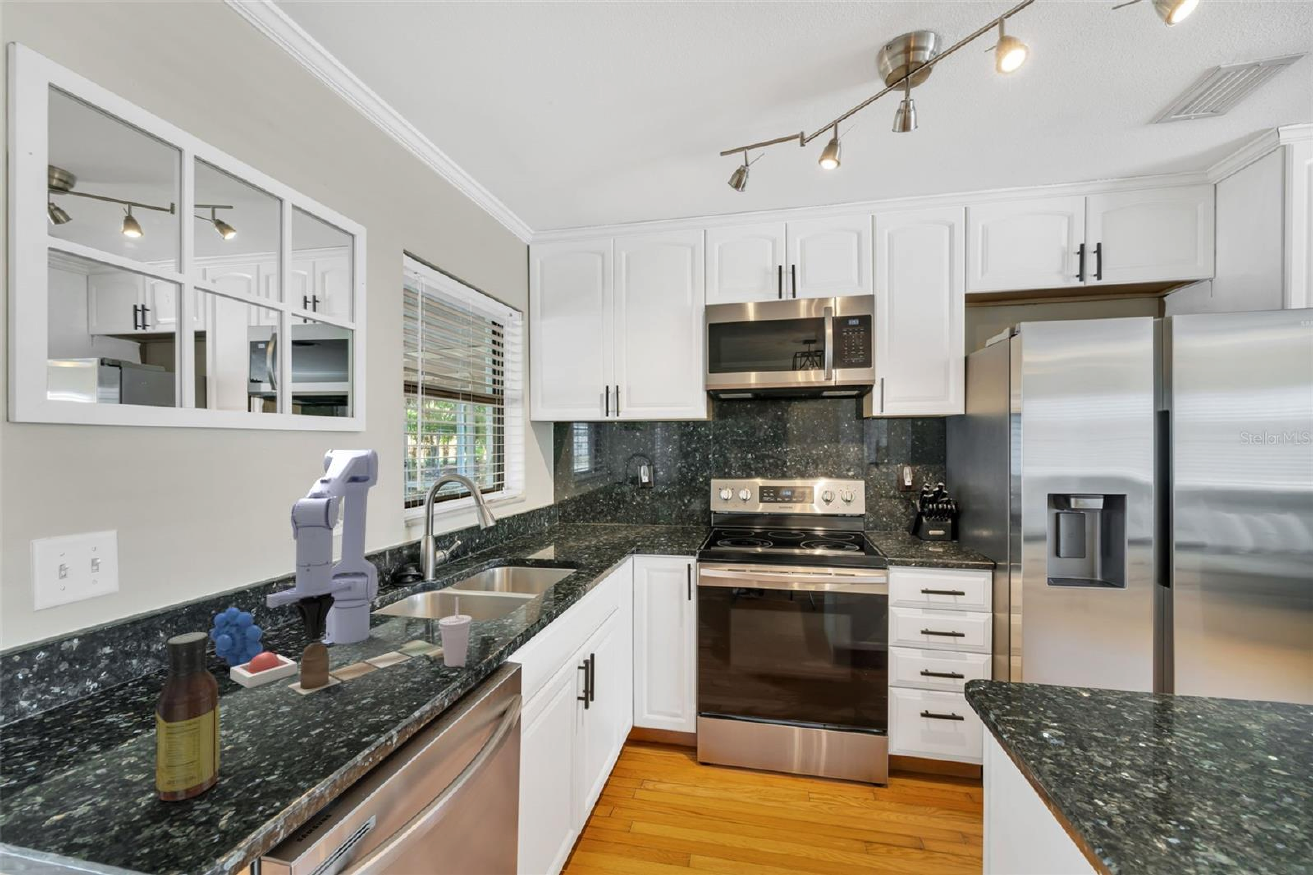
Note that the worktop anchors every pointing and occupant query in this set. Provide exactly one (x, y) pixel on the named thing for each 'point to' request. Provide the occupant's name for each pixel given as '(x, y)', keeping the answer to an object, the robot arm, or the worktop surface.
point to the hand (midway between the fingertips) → (313, 637)
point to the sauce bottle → (187, 722)
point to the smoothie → (455, 638)
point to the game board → (377, 663)
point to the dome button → (263, 662)
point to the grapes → (236, 637)
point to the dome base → (263, 673)
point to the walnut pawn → (314, 666)
